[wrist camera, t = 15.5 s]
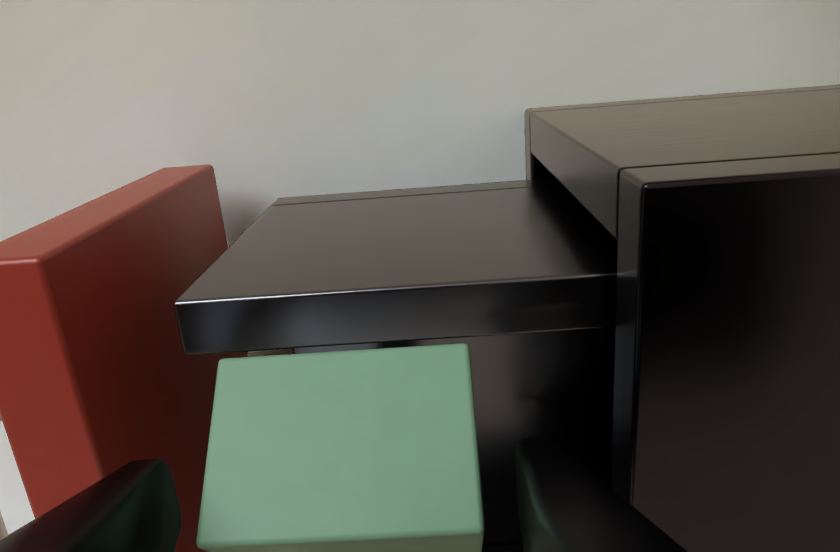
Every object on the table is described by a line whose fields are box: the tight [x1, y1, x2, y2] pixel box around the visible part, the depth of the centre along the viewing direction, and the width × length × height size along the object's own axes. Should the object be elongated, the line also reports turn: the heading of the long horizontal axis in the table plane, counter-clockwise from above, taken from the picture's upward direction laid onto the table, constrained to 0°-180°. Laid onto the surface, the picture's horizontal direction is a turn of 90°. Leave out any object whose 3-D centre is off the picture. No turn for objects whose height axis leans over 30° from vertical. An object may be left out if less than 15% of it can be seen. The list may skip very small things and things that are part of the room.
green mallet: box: [196, 343, 485, 552], centre depth 11 cm, size 8×3×2 cm
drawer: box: [0, 165, 618, 552], centre depth 13 cm, size 18×12×7 cm, turn 94°
